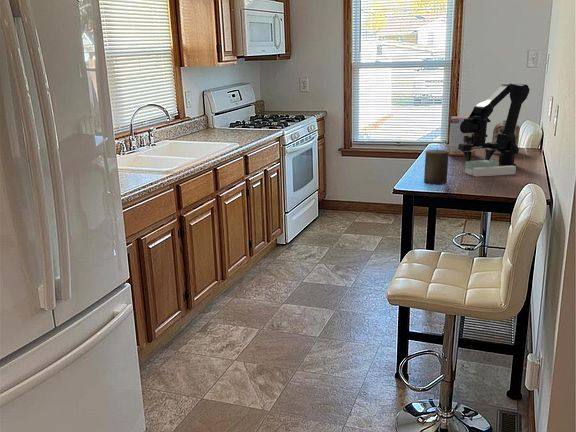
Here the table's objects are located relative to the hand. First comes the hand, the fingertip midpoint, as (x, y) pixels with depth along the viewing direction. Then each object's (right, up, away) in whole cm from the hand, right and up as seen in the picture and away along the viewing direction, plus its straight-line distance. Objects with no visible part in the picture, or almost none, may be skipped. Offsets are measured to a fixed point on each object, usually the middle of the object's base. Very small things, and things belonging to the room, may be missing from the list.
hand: (477, 164), depth 275 cm
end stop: (+3, -5, -10) cm, 12 cm away
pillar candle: (-27, -10, -27) cm, 40 cm away
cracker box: (+3, +8, +35) cm, 36 cm away
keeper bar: (+1, -3, -3) cm, 5 cm away
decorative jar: (+29, +10, +41) cm, 51 cm away
